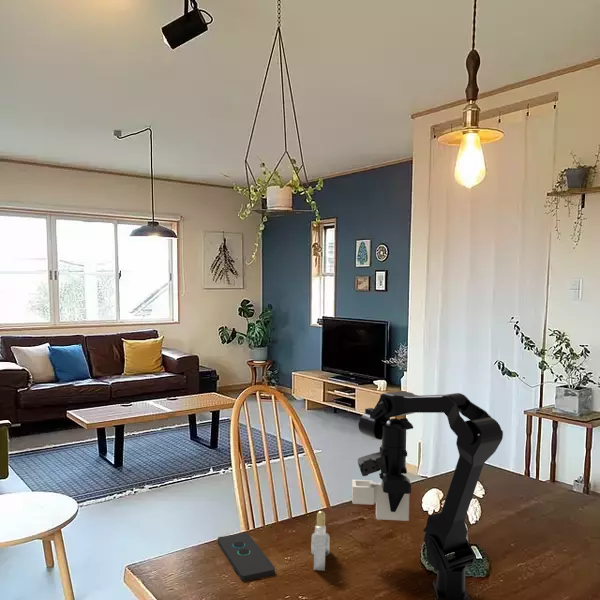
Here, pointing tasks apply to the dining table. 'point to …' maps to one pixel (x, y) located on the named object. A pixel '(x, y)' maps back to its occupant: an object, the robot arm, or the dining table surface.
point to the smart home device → (245, 556)
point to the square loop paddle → (379, 500)
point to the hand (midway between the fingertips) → (392, 509)
